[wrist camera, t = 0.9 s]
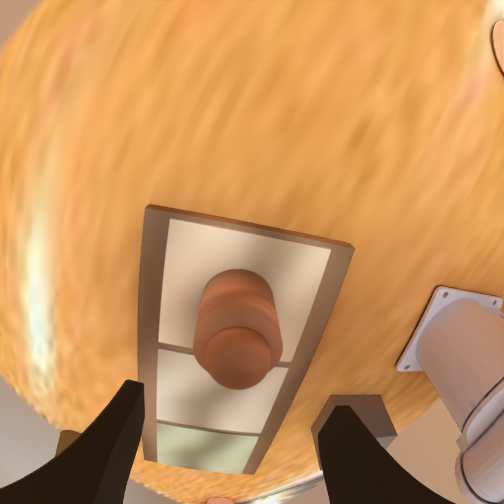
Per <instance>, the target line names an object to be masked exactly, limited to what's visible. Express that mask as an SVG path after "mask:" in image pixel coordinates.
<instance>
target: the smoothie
mask: <svg viewBox="0 0 504 504" xmlns="http://www.w3.org/2000/svg"><path fill="white" fill-rule="evenodd" d="M207 504H234V501H233V500H232V499H229V498H223V497H214V498H210V499H208V500H207Z"/></svg>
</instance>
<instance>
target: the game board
mask: <svg viewBox="0 0 504 504" xmlns="http://www.w3.org/2000/svg"><path fill="white" fill-rule="evenodd" d="M354 250H355V248H354V247H353V246H352V245H351V244H349V243H345V242H340V241H335V240H331V239H326V238H321V237H317V236H312V235H307V234H302V233H298V232H293V231H288V230H283V229H278V228H273V227H268V226H263V225H258V224H253V223H248V222H243V221H238V220H232V219H227V218H222V217H217V216H211V215H206V214H200V213H195V212H190V211H184V210H178V209H173V208H167V207H161V206H156V205H150V204H149V205H148V206H147V207H146V208H145V215H144V224H143V234H142V246H141V259H140V274H139V295H138V382H141V383H144V398H145V419H144V424H143V430H142V443H143V452H144V460H148V461H153V462H157V463H160V464H166V465H171V466H177V467H183V468H189V469H196V470H203V471H211V472H221V473H232V474H253V475H254V474H255V472H256V470H257V468H258V467H259V465H260V463H261V461H262V460H263V458H264V456H265V454H266V452H267V450H268V449H269V447H270V445H271V443H272V441H273V439H274V437H275V435H276V434H277V432H278V430H279V428H280V426H281V424H282V422H283V420H284V418H285V416H286V414H287V412H288V410H289V408H290V406H291V404H292V402H293V400H294V397H295V395H296V393H297V391H298V389H299V387H300V385H301V383H302V380H303V378H304V376H305V374H306V372H307V369H308V367H309V365H310V363H311V360H312V358H313V356H314V354H315V351H316V349H317V347H318V344H319V342H320V340H321V337H322V335H323V332H324V330H325V327H326V325H327V323H328V320H329V318H330V315H331V312H332V310H333V307H334V305H335V302H336V300H337V297H338V294H339V292H340V289H341V286H342V284H343V281H344V278H345V275H346V273H347V270H348V267H349V264H350V261H351V258H352V255H353V253H354ZM230 269H245V270H249V271H252V272H255V273H257V274H258V275H260V276H261V277H263V278H264V279H265V280H266V281H267V283H268V284H269V286H270V287H271V290H272V293H273V297H274V302H275V307H276V312H277V317H278V322H279V326H280V331H281V336H282V341H283V353H282V356H281V359H280V361H279V362H278V364H277V365H276V366H275V367H274V368H273V369H272V370H271V371H270V372H268V373H267V375H266V376H265V378H264V379H263V380H262V381H261V382H260V383H258V384H257V385H255V386H253V387H251V388H248V389H244V390H233V389H229V388H226V387H224V386H222V385H220V384H218V383H217V382H216V381H215V380H214V379H213V378H212V377H211V375H210V374H209V373H208V372H207V371H205V370H204V369H203V368H202V367H201V366H200V365H199V363H198V362H197V360H196V358H195V356H194V353H193V341H194V336H195V330H196V325H197V320H198V314H199V309H200V304H201V299H202V294H203V290H204V288H205V286H206V284H207V283H208V282H209V280H210V279H211V278H213V277H214V276H215V275H217V274H219V273H220V272H223V271H226V270H230Z"/></svg>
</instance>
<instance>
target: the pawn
mask: <svg viewBox="0 0 504 504" xmlns="http://www.w3.org/2000/svg"><path fill="white" fill-rule="evenodd" d="M193 353H194V356H195V358H196V360H197V362H198V363H199V365H200V366H201V367H202V368H203V369H204V370H205V371H207V372H208V373H209V374H210V375H211V377H212V378H213V379H214V380H215V381H216V382H217V383H218V384H220V385H222V386H224V387H226V388H229V389H233V390H244V389H248V388H251V387H253V386H255V385H257V384H258V383H260V382H261V381H262V380H263V379H264V378H265V376H266V375H267V373H268V372H270V371H271V370H272V369H273V368H274V367H275V366H276V365H277V364H278V362H279V361H280V359H281V356H282V353H283V341H282V336H281V331H280V326H279V322H278V317H277V312H276V307H275V302H274V297H273V293H272V290H271V287H270V286H269V284H268V283H267V281H266V280H265V279H264V278H263V277H261V276H260V275H258V274H257V273H255V272H252V271H249V270H245V269H230V270H226V271H223V272H220V273H219V274H217V275H215V276H214V277H213V278H211V279H210V280H209V282H208V283H207V284H206V286H205V288H204V290H203V294H202V299H201V304H200V309H199V314H198V320H197V325H196V330H195V336H194V341H193Z"/></svg>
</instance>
